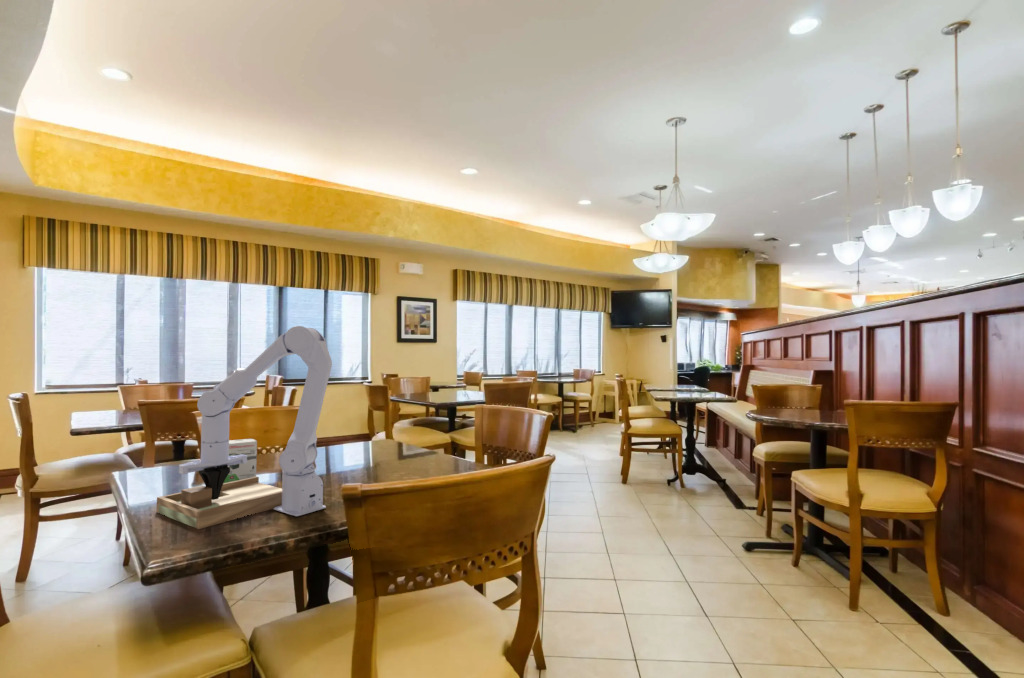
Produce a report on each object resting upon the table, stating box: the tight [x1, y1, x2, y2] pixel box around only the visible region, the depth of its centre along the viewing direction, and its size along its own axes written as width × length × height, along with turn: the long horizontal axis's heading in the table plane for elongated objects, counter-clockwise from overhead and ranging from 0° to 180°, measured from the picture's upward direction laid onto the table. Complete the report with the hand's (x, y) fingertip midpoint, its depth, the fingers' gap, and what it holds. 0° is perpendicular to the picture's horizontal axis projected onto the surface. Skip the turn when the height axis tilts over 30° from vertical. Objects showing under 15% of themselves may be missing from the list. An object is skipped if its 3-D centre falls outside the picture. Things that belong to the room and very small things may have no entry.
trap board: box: [156, 476, 282, 530], centre depth 120 cm, size 20×24×4 cm
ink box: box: [224, 438, 258, 483], centre depth 144 cm, size 9×5×12 cm, turn 132°
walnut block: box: [180, 485, 212, 509], centre depth 113 cm, size 4×4×4 cm
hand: (213, 498), depth 116 cm, fingers closed
